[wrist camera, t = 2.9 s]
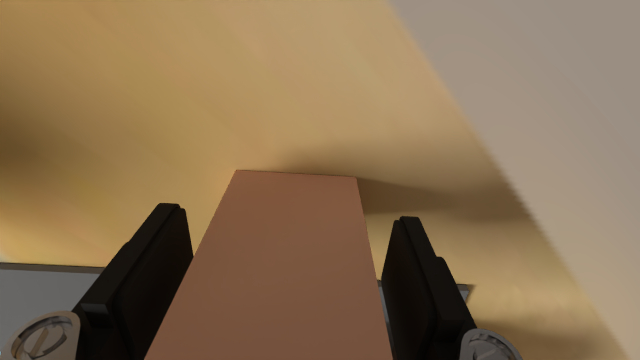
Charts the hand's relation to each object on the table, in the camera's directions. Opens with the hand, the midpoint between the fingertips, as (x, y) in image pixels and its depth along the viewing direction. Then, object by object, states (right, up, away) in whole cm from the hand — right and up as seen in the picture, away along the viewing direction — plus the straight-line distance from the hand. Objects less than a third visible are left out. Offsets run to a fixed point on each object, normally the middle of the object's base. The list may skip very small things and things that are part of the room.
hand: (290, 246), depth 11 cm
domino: (0, +2, +3) cm, 3 cm away
